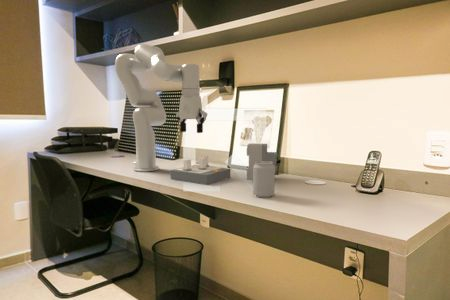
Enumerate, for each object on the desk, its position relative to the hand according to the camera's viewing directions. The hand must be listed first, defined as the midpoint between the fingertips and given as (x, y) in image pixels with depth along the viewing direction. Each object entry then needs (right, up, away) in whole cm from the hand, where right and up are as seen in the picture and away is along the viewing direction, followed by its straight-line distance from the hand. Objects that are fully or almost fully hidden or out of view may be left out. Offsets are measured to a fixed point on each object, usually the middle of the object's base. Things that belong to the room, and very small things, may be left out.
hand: (191, 132), depth 145 cm
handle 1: (-1, -16, -5) cm, 17 cm away
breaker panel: (+4, -20, -1) cm, 21 cm away
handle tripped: (+5, -16, -2) cm, 17 cm away
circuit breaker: (+32, -21, -1) cm, 38 cm away
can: (+29, -24, -30) cm, 48 cm away
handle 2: (+6, -15, +5) cm, 17 cm away
